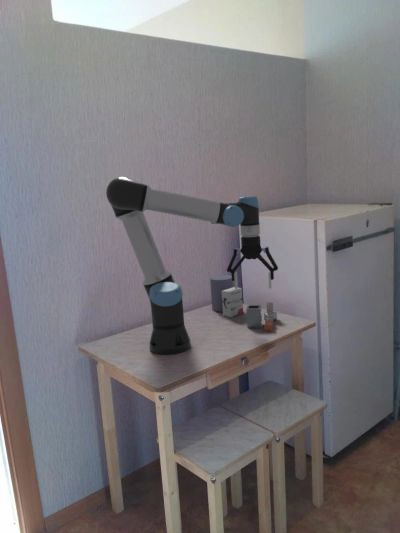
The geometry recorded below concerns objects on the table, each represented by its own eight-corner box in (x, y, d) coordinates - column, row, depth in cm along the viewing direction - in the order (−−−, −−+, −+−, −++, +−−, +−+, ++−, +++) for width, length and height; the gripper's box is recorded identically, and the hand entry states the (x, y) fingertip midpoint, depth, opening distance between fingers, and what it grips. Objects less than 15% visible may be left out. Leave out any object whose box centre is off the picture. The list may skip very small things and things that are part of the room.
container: (207, 310, 221) (205, 278, 219) (221, 304, 229) (219, 274, 226) (225, 313, 215) (223, 280, 212) (238, 307, 222) (236, 276, 220)
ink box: (235, 311, 216) (234, 286, 213) (243, 313, 212) (242, 287, 210) (222, 316, 210) (220, 290, 208) (230, 318, 206) (228, 291, 204)
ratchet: (261, 331, 186) (260, 312, 184) (264, 318, 203) (263, 299, 201) (275, 331, 185) (274, 311, 183) (277, 317, 202) (276, 299, 200)
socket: (247, 328, 191) (246, 308, 190) (248, 323, 197) (247, 305, 195) (260, 328, 190) (260, 308, 189) (261, 323, 195) (261, 305, 194)
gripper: (217, 238, 185) (221, 291, 189) (282, 235, 180) (284, 289, 184) (220, 235, 193) (224, 286, 197) (282, 233, 187) (285, 285, 191)
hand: (253, 288), depth 190 cm, fingers open, 13 cm apart
